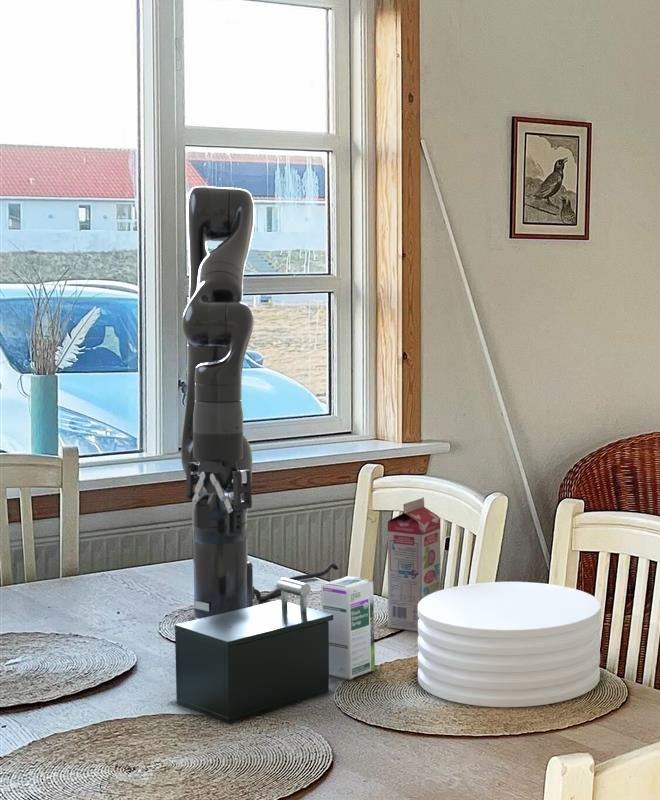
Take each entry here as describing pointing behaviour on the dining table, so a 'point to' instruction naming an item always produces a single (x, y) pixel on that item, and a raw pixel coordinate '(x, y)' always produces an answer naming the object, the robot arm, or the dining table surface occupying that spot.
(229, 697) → the bin
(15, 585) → the dining table surface
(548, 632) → the plate stack
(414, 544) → the juice carton
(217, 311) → the robot arm
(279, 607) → the bin lid
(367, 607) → the syrup box
